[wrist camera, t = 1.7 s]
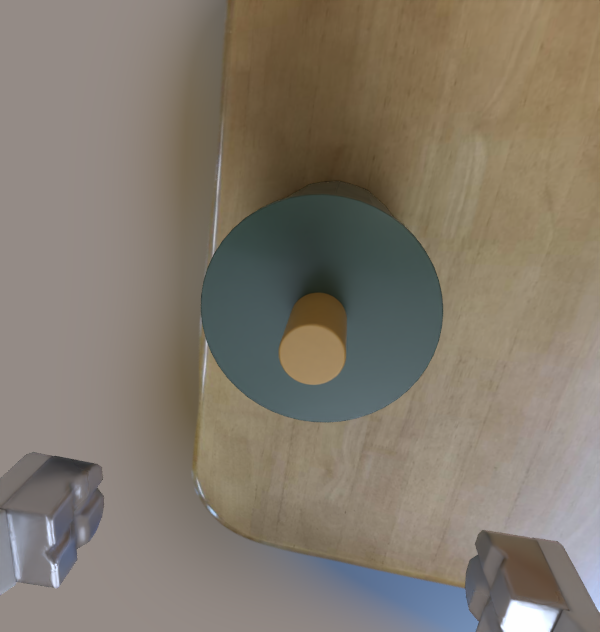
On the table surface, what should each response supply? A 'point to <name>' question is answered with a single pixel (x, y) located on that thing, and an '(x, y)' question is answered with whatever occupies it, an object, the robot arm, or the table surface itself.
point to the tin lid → (322, 307)
